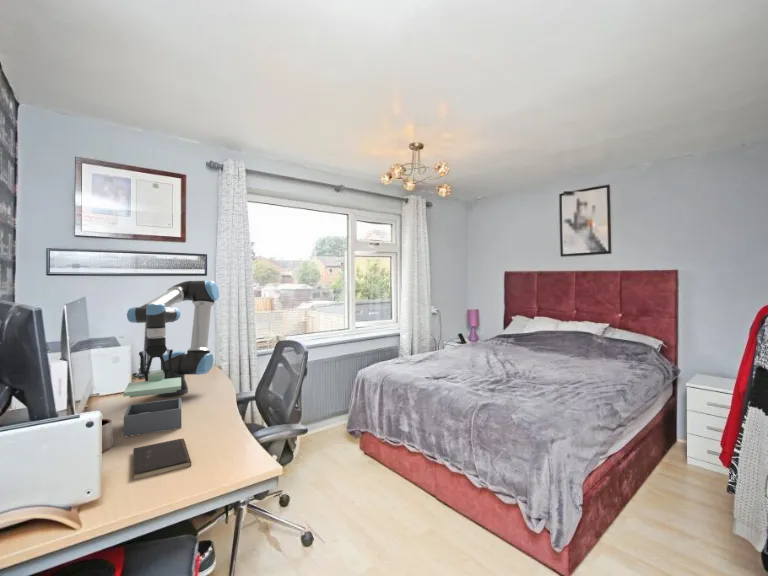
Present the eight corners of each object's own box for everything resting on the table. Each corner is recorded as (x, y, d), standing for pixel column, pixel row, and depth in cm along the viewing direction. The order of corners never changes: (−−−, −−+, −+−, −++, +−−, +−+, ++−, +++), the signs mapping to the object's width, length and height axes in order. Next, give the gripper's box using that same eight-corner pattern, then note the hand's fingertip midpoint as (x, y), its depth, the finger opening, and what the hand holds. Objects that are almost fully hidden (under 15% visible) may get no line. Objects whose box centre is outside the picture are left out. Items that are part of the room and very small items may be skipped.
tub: (129, 423, 163) (129, 404, 163) (181, 415, 172) (181, 398, 172) (123, 437, 147) (123, 416, 147) (181, 427, 157) (181, 408, 157)
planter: (80, 447, 138) (80, 421, 138) (115, 442, 142) (115, 416, 142) (69, 459, 128) (69, 431, 128) (107, 453, 132) (107, 426, 132)
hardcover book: (132, 482, 113) (132, 474, 113) (133, 454, 132) (133, 448, 132) (191, 467, 122) (191, 460, 122) (184, 443, 141) (184, 437, 141)
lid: (131, 384, 171) (131, 373, 171) (181, 379, 180) (181, 368, 180) (123, 399, 147) (123, 386, 147) (181, 392, 157) (181, 379, 157)
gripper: (131, 339, 165) (132, 392, 164) (178, 336, 173) (178, 386, 173) (133, 337, 171) (134, 388, 171) (178, 335, 180) (178, 383, 180)
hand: (156, 387), depth 172 cm, fingers closed on lid, 5 cm apart
